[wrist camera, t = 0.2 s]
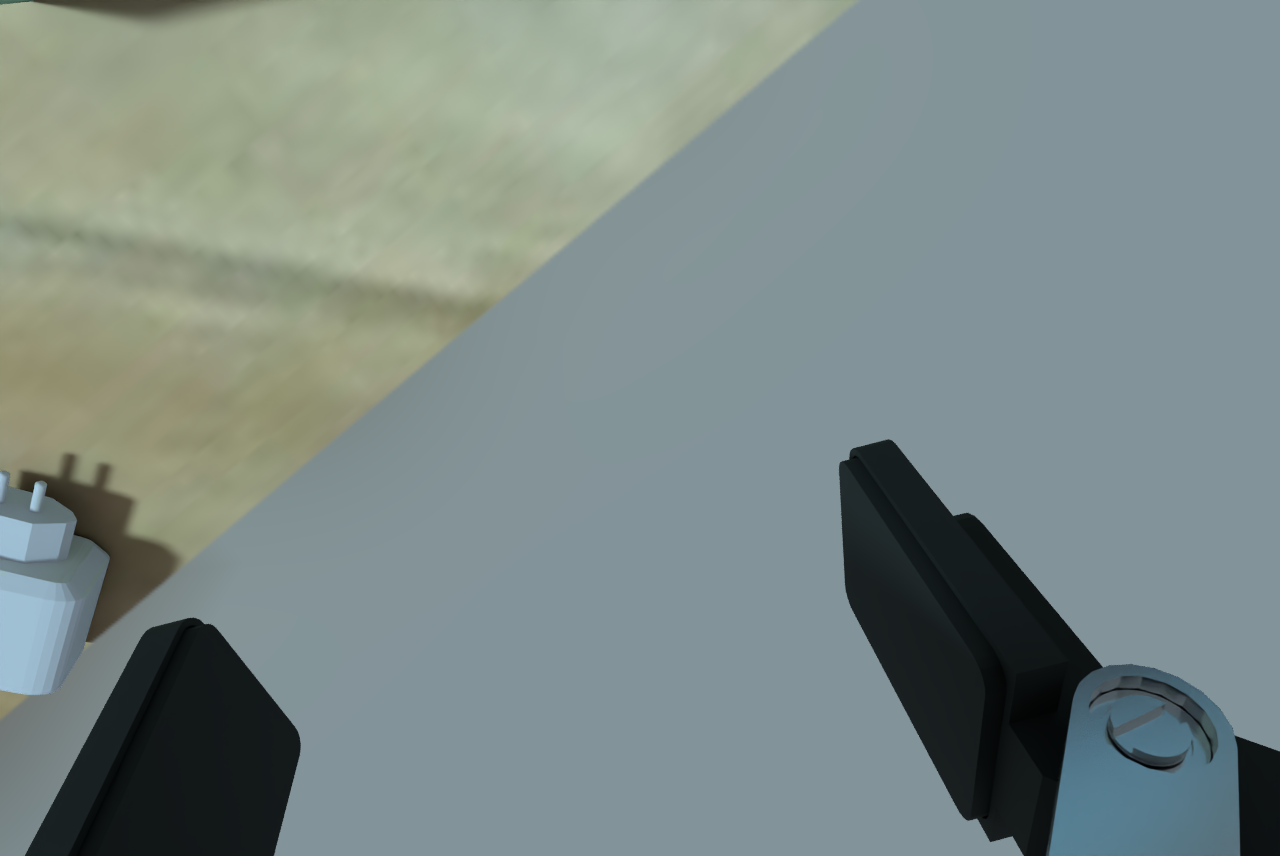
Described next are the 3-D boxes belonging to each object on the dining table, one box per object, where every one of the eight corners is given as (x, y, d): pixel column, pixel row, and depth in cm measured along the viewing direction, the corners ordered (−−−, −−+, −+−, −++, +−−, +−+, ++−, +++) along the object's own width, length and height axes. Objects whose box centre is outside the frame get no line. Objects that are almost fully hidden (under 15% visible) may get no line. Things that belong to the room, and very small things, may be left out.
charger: (137, 477, 43) (88, 640, 49) (-53, 423, 40) (-79, 605, 46) (100, 530, 39) (52, 699, 46) (-114, 474, 36) (-134, 666, 42)
